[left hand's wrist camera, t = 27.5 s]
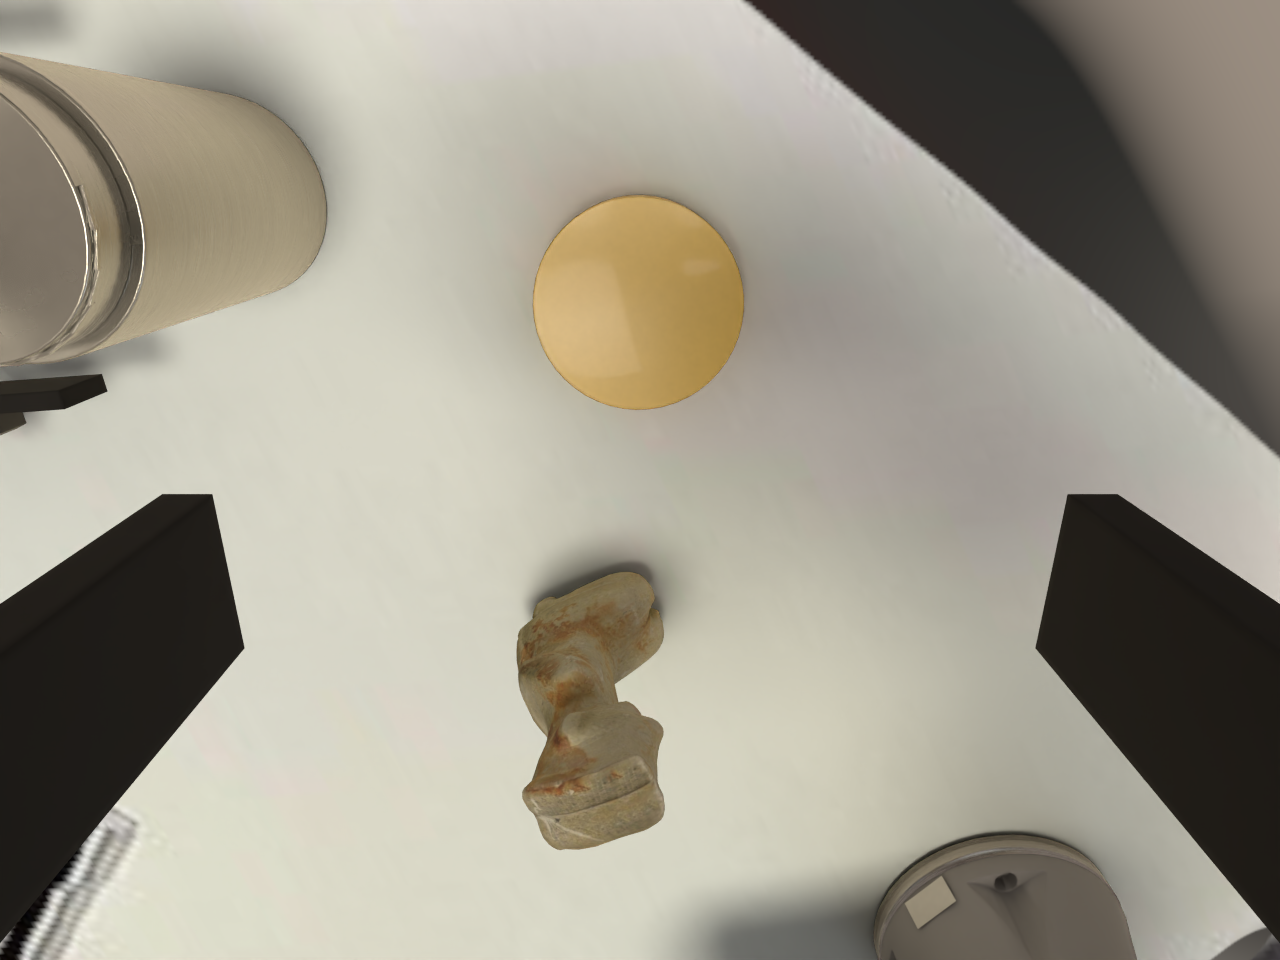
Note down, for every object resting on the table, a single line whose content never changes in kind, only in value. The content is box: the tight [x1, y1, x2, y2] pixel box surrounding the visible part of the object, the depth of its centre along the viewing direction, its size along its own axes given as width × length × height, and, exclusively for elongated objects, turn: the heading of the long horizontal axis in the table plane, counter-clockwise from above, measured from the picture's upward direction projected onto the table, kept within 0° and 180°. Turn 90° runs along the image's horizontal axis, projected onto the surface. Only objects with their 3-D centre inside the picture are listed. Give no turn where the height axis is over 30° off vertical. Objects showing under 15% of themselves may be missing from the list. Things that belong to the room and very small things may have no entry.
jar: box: [0, 52, 326, 367], centre depth 28 cm, size 9×9×16 cm
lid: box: [533, 195, 744, 410], centre depth 36 cm, size 9×9×2 cm
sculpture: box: [517, 572, 665, 850], centre depth 36 cm, size 6×7×15 cm
